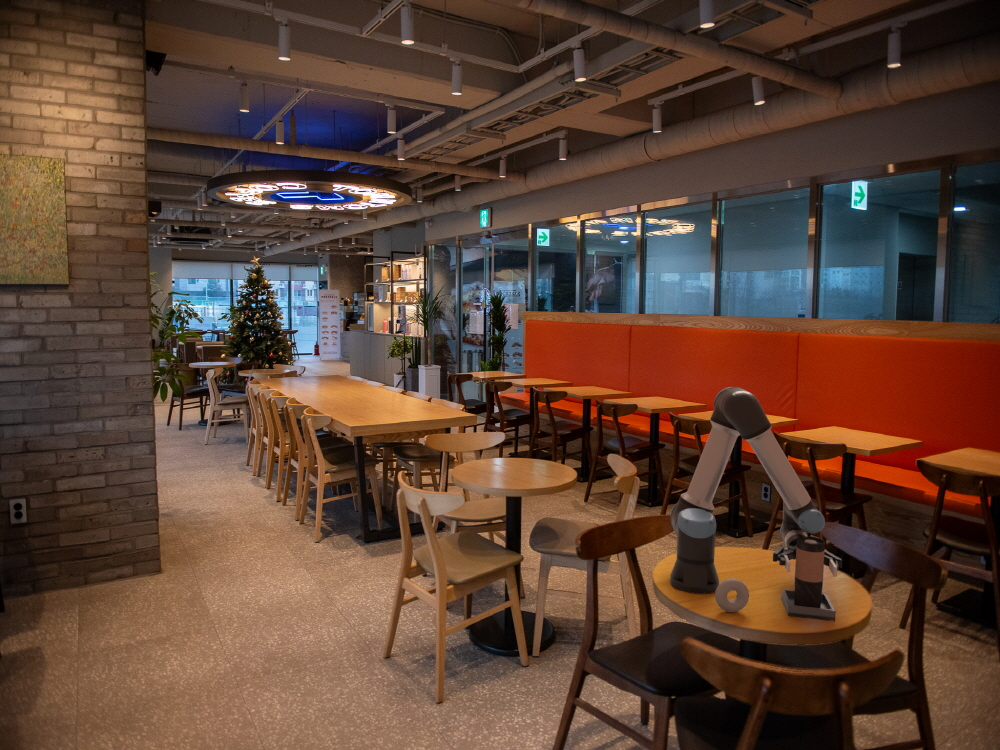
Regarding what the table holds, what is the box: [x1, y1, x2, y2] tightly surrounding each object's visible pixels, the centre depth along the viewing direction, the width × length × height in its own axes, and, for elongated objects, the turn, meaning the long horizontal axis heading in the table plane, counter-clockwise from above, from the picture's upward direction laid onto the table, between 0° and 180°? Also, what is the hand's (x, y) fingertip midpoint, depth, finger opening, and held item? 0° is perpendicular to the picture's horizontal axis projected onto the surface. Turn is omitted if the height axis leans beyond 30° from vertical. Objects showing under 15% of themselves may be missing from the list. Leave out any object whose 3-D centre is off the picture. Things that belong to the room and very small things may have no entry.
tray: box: [780, 588, 837, 622], centre depth 203 cm, size 13×13×3 cm
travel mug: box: [793, 535, 826, 608], centre depth 202 cm, size 8×8×20 cm
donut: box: [714, 577, 750, 613], centre depth 201 cm, size 10×4×10 cm, turn 93°
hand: (812, 569), depth 199 cm, fingers open, 12 cm apart
